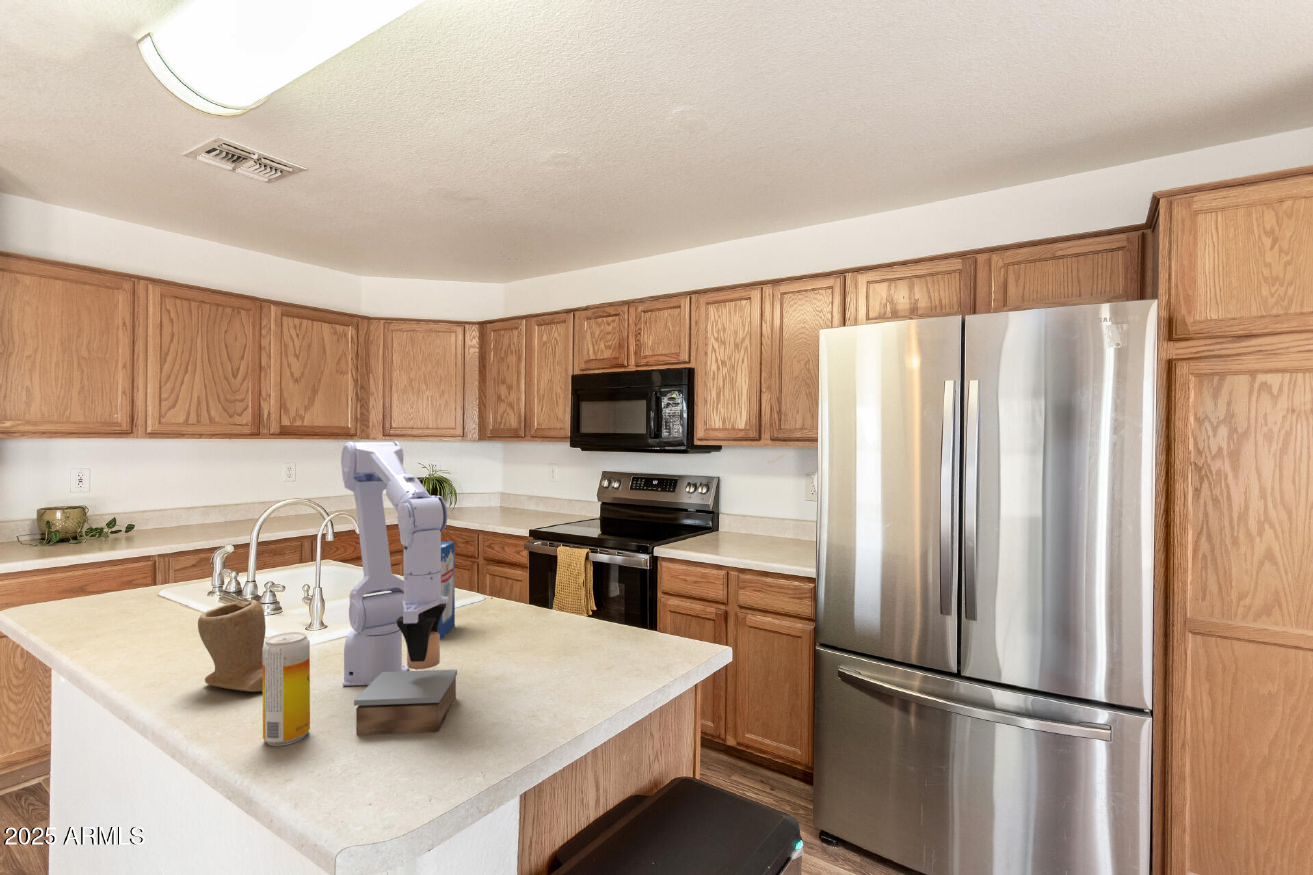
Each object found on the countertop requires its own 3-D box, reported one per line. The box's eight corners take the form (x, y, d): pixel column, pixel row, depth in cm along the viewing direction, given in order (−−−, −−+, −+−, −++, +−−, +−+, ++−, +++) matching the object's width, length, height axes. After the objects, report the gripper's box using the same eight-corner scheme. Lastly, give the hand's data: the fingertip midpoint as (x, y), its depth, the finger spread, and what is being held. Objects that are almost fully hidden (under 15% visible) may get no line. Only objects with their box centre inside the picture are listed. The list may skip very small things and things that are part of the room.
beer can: (317, 727, 98) (317, 630, 98) (296, 747, 92) (296, 643, 92) (277, 728, 98) (277, 631, 98) (253, 748, 92) (253, 644, 92)
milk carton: (439, 640, 139) (439, 549, 139) (411, 640, 140) (411, 549, 139) (454, 626, 149) (454, 541, 149) (428, 626, 150) (428, 541, 149)
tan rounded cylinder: (403, 669, 101) (403, 641, 101) (411, 658, 106) (411, 631, 106) (435, 668, 102) (435, 640, 102) (442, 657, 107) (442, 630, 107)
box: (356, 734, 96) (356, 708, 96) (383, 701, 108) (383, 677, 108) (438, 731, 97) (438, 705, 97) (455, 698, 109) (455, 675, 109)
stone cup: (183, 691, 112) (182, 606, 112) (249, 668, 123) (249, 591, 123) (239, 706, 106) (238, 616, 106) (304, 681, 117) (303, 599, 117)
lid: (353, 705, 95) (353, 700, 95) (382, 676, 108) (382, 671, 108) (438, 702, 96) (438, 697, 96) (457, 674, 109) (457, 669, 109)
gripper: (436, 581, 97) (437, 670, 97) (456, 562, 111) (457, 639, 111) (388, 582, 96) (389, 671, 96) (415, 562, 111) (415, 640, 111)
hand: (422, 654), depth 104 cm, fingers closed on tan rounded cylinder, 5 cm apart
